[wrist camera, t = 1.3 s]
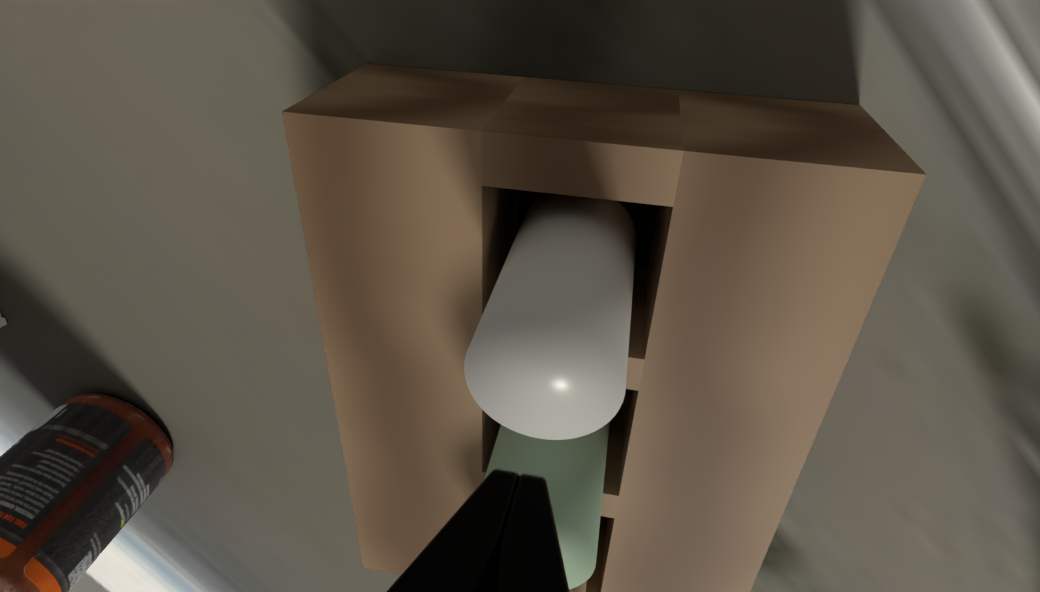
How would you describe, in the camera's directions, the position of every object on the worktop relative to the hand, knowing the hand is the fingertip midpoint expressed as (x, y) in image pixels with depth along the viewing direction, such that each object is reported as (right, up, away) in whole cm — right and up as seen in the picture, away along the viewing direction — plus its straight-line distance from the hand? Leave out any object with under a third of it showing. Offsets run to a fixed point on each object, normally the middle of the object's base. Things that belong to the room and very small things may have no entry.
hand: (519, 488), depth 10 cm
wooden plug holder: (+2, +2, +13) cm, 13 cm away
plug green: (+1, 0, +10) cm, 10 cm away
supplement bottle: (-20, -4, +21) cm, 29 cm away
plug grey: (+2, +5, +7) cm, 9 cm away
